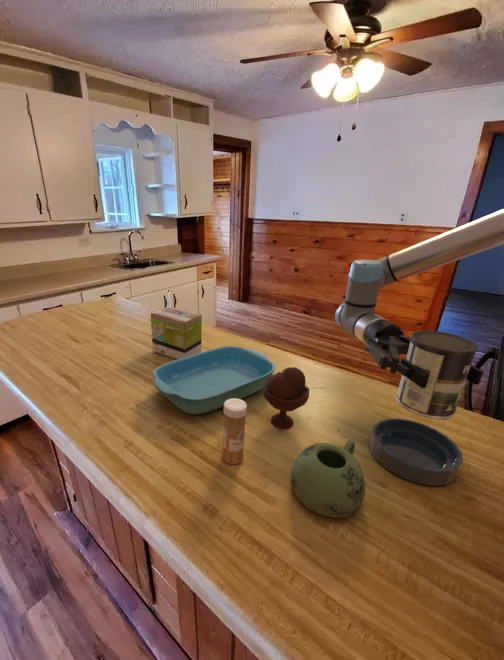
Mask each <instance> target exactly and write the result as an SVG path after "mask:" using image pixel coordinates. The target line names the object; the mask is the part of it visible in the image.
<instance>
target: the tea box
mask: <svg viewBox="0 0 504 660" xmlns="http://www.w3.org/2000/svg"><path fill="white" fill-rule="evenodd" d="M202 317H203V315H202V314H201V313H197V312H193V311H189V310H185V309H180V308H177V307H173V306H167V307H164V308H161V309H159V310H157V311H153V312H151V313H150V326H151V327H150V328H151V345H152V351H153V353H157V354H161V355H163V356H166V357H169V358H172V359H175V360H178V359H181V358H184V357H188V356H191V355H194V354H198V353H201V352H202V342H203V341H202V335H203V334H202V333H203V332H202V330H203V329H202V328H203V327H202V325H203V323H202V322H203V321H202V320H203V318H202Z"/></svg>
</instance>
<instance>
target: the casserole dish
mask: <svg viewBox="0 0 504 660" xmlns="http://www.w3.org/2000/svg"><path fill="white" fill-rule="evenodd" d="M275 370H276V364H275V363H273V362H272V361H271V360H270V358H269V356H268V355H266V354H265V353H263V352H260V351H258V350H256V349H251V348H245V347H241V346H237V345H226V346H220V347H216V348H211V349H209V350H208V349H207V350H205V351H201V353H198V354H194V355H191V356H188V357H184V358H181V359H178V360H177V359H175V360H172V361H169V362H165V363H163V364H161V365H159V366H157V367H156V368H154V370H153V373H152V374H153V378H154V380H153V381H154V382H153V385H154V387H155V388H156V389H157V390H158V391H159V392H161V394H162V395H163V396H164V397H165V398H166V399H167V400H168V401H170V402H171V403H172V404H173V405H174V406H175V407H177V408H178V409H179V410H181V411H183V412H184V413H187V414H190V415H201V414H206V413H209V412H212V411H214V410H217V409H219V408H222V407H224V403H225V401H227V400H228V399H233V398H236V399H241V400H242V399H244V398H247V397H248V396H250V395H251V396H252V395H253V394H254V393H255V394H256V393H257V392H259V391H260V390H262V388H263V384H264V382H265V381H267V380H268V379H269V377H270V376H271V375H274V372H275Z"/></svg>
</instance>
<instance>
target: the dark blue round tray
mask: <svg viewBox="0 0 504 660" xmlns="http://www.w3.org/2000/svg"><path fill="white" fill-rule="evenodd" d="M368 447H369V450H370V453H371V455H372V456H373V457H374V458H375V460H376V462H378V463H379V464H380V465H381V466H382V467H384V468H385V469H386V470H388V471H389V472H391V473H392V474H394V475H396V476H398V477H399V478H402V479H405V480H407V481H410V482H413V483H416V484H420V485H425V486H446V485H448V484H450V483H452V482H454V481H455V480H456V478H457V476H458V475H459V472H460V469H461V467H462V465H463V462H464V458H463V453H462V452H463V451H462V450H461V449H460V448H459V446H458V445H457V444H456V442H454V441H453V440H452V439H451V438H450V437H448V436H447V435H446V434H444V433H443V432H440V431H439V430H437V429H436V428H435V427H432V426H429V425H426V424H425V423H423V422H422V423H421V422H418V421H416V420H415V421H414V420H411V419H407V418H406V419H405V418H399V417H395V418H385V419H382V420H379V421H377V422H376V423H375V424H374V425H373V426H372V430H371V434H370V439H369V443H368Z"/></svg>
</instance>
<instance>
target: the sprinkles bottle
mask: <svg viewBox="0 0 504 660" xmlns="http://www.w3.org/2000/svg"><path fill="white" fill-rule="evenodd" d="M247 408H248V404H247V402H246V401H245V400H243V399H242V398H241V399H236V398H233V399H228V400H227V401H225V403H224V406H223V427H222V428H223V429H222V430H223V431H222V449H223V450H222V456H221V457H222V460H223V461H224V462H225V463H227V464H230V465H238V464H240V463H241V462H243V460H244V447H245V433H246V432H245V431H246V430H245V429H246V415H247V412H248V409H247Z"/></svg>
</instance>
